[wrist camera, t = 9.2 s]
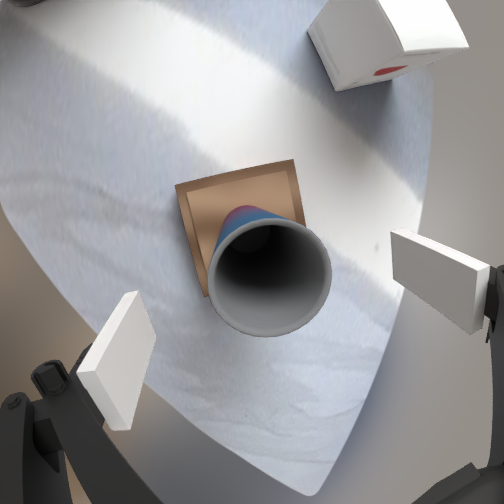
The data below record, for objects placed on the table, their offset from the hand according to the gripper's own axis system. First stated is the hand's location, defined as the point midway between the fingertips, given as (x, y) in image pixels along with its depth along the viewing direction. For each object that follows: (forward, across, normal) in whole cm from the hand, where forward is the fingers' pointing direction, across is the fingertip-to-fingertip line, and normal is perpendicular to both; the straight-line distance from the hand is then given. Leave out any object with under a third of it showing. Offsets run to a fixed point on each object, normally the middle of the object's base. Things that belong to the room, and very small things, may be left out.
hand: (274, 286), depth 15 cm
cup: (+17, 0, -1) cm, 17 cm away
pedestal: (+20, 0, -1) cm, 20 cm away
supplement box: (+20, +17, +17) cm, 32 cm away
